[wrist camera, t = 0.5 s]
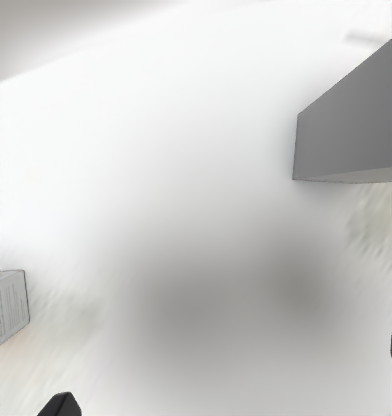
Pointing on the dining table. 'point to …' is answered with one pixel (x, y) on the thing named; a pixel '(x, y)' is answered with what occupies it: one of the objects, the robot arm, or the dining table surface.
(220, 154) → the dining table surface
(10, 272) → the skincare box
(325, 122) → the canister
